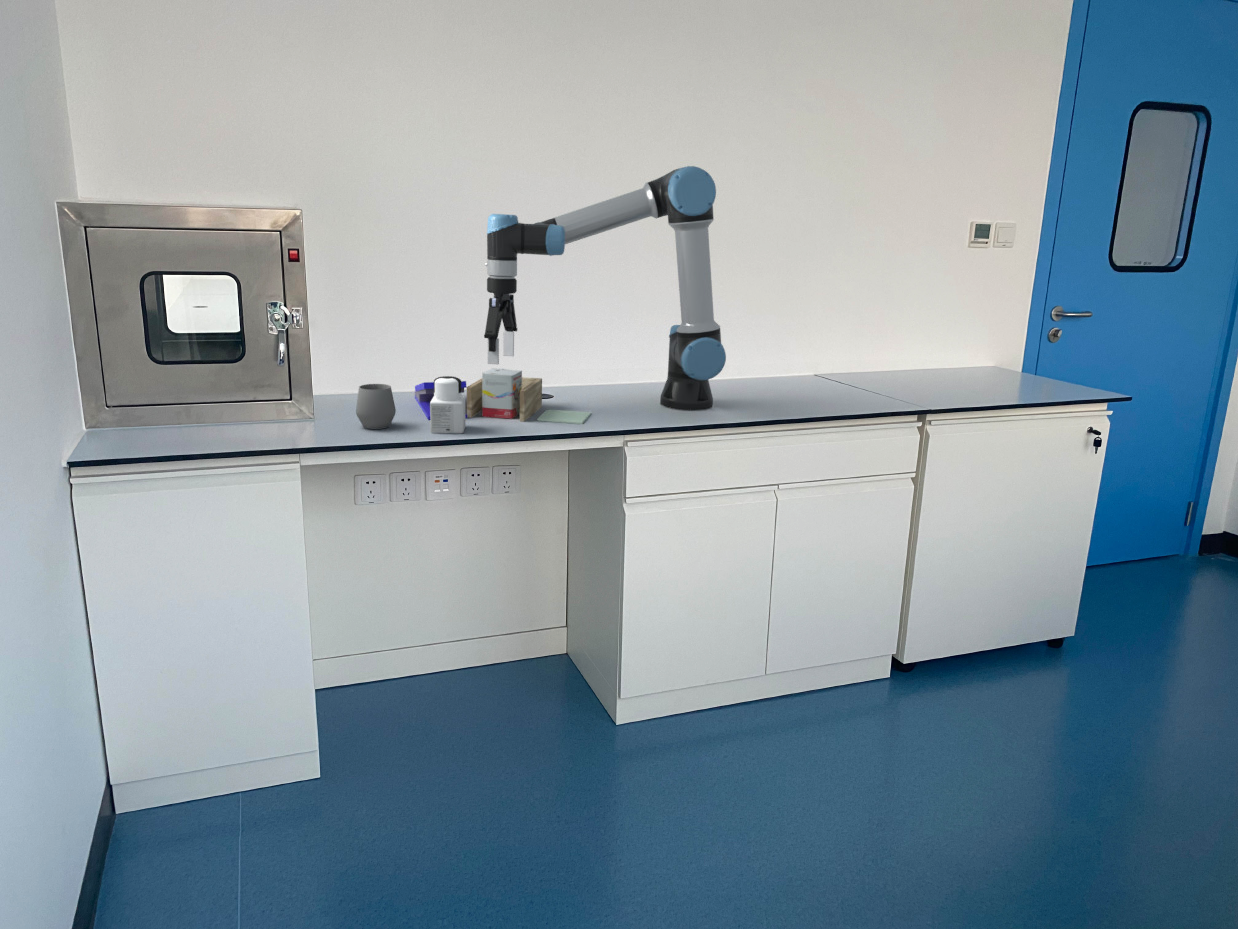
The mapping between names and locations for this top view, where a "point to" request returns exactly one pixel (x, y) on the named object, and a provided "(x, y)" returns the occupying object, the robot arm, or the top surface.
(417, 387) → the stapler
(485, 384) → the ink box
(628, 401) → the top surface
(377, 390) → the cup
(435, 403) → the container
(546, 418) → the mat
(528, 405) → the u-shaped enclosure
